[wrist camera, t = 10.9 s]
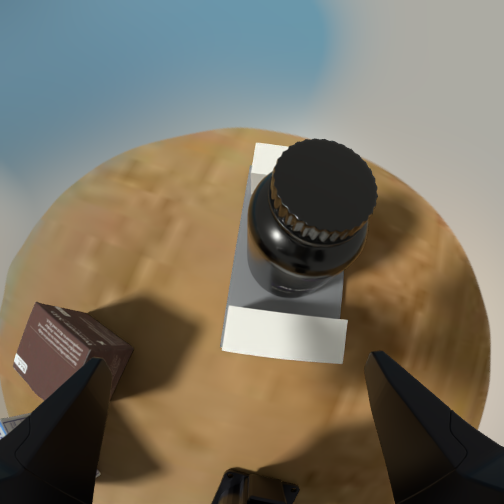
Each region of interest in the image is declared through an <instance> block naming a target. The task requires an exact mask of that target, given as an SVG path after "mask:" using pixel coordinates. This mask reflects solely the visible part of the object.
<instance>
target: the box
mask: <svg viewBox="0 0 504 504" xmlns="http://www.w3.org/2000/svg"><path fill="white" fill-rule="evenodd" d="M133 350H134V349H133V347H132V346H131V345H129V344H128V343H126V342H125V341H124V340H122V339H121V338H119V337H118V336H117V335H115V334H114V333H113V332H112V331H110V330H109V329H107V328H106V327H105V326H103V325H102V324H100V323H99V322H98V321H97V320H95V319H93V318H92V317H91V316H90V315H88V314H87V313H84V312H79V311H74V310H70V309H65V308H60V307H56V306H51V305H45V304H42V303H39V302H35V305H34V307H33V309H32V312H31V314H30V317H29V319H28V322H27V325H26V328H25V330H24V333H23V336H22V339H21V342H20V344H19V347H18V350H17V353H16V356H15V360H14V364H13V367H14V369H15V370H16V371H17V372H18V373H19V374H20V376H21V377H22V378H23V379H24V380H25V381H26V382H27V383H28V384H29V386H30V387H31V389H32V390H33V391H34V392H35V393H36V394H37V395H38V396H39V397H40V398H42V399H43V400H44V401H45V400H46V399H47V398H48V397H49V396H50V395H51V394H52V393H53V392H54V391H55V390H57V389H58V388H59V387H60V386H61V385H62V384H63V383H64V382H65V381H66V380H68V379H69V378H70V377H71V376H72V375H73V374H74V373H75V372H76V371H77V370H79V369H80V368H81V367H82V366H83V365H84V364H85V363H86V362H88V361H89V360H90V359H91V358H92V357H100V358H103V359H104V360H105V361H106V363H107V365H108V367H109V369H110V370H111V372H112V384H111V392H110V399H111V397H112V395H113V392H114V390H115V388H116V386H117V383H118V381H119V379H120V377H121V375H122V373H123V371H124V368H125V366H126V364H127V362H128V360H129V358H130V356H131V354H132V352H133ZM109 401H110V400H109Z"/></svg>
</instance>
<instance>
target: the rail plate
mask: <svg viewBox="0 0 504 504" xmlns="http://www.w3.org/2000/svg"><path fill="white" fill-rule="evenodd" d="M287 149H288V147H285V146H278V145H271V144H263V143H256V147H255V153H254V158H253V164H252V166H251V165H250V170H249V175H248V181H247V187H246V192H245V198H244V204H243V209H242V215H241V221H240V227H239V233H238V238H237V244H236V250H235V256H234V262H233V268H232V274H231V281H230V287H229V293H228V299H227V305H226V312H225V318H224V325H223V331H222V337H221V344H220V347H222V351H228V352H234V353H241V354H248V355H255V356H263V357H271V358H279V359H288V360H298V361H309V362H321V363H336V364H343V356H344V348H345V340H346V331H347V322H348V320H342V319H340V313H341V302H342V290H343V276H344V271H342V272H341V273H340V274H338V275H337V276H335V277H334V278H333V279H331V280H330V281H329V282H327V283H326V284H324V285H323V286H322V287H320V288H319V289H317V290H316V291H314V292H313V293H311V294H309V295H306V296H303V297H299V298H283V297H278V296H275V295H273V294H271V293H269V292H267V291H266V290H265V289H263V288H262V287H261V286H260V285H259V284H258V283H257V282H256V280H255V279H254V277H253V276H252V274H251V271H250V269H249V265H248V261H247V214H248V207H249V202H250V199H251V196H252V194H253V192H254V190H255V188H256V187H257V185H258V184H259V182H260V181H261V180H262V179H263V178H264V177H265V176H266V175H268V174H269V173H270V172H272V171H273V168H274V167H275V165H276V162H277V159H278V158H279V157H281V155H282V152H283V151H285V150H287Z"/></svg>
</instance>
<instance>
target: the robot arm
mask: <svg viewBox="0 0 504 504" xmlns="http://www.w3.org/2000/svg"><path fill="white" fill-rule="evenodd" d="M364 374H365V379H366V384H367V390H368V395H369V401H370V407H371V411H372V415H373V419H374V422H375V426H376V429H377V433H378V436H379V440H380V444H381V447H382V451H383V455H384V459H385V463H386V467H387V471H388V475H389V479H390V483H391V487H392V492H393V496H394V501H395V504H504V447H503V446H500V445H499V444H497V443H496V442H494V441H493V440H491V439H490V438H488V437H487V436H485V435H484V434H482V433H481V432H480V431H478V430H477V429H475V428H474V427H472V426H471V425H470V424H468V423H467V422H466V421H465V420H463V419H462V418H461V417H460V416H459V415H457V414H456V413H455V412H454V411H453V410H451V409H450V408H449V407H448V406H447V405H446V404H444V403H443V402H442V401H441V400H440V399H439V398H438V397H436V396H435V395H434V394H433V393H432V392H431V391H429V390H428V389H427V388H426V387H425V386H424V385H422V384H421V383H420V382H419V381H418V380H417V379H415V378H414V377H413V376H412V375H411V374H410V373H408V372H407V371H406V370H405V369H404V368H402V367H401V366H400V365H399V364H398V363H397V362H395V361H394V360H393V359H392V358H391V357H390V356H388V355H387V354H386V353H385V352H384V351H381V350H379V351H373V352H371V353H370V354H369V357H368V359H367V362H366V365H365V368H364ZM111 384H112V372H111V370H110V369H109V367H108V365H107V363H106V361H105V360H104V359H103V358H100V357H92V358H91V359H90V360H89V361H88V362H86V363H85V364H84V365H83V366H82V367H81V368H80V369H79V370H77V371H76V372H75V373H74V374H73V375H72V376H71V377H70V378H69V379H68V380H66V381H65V382H64V383H63V384H62V385H61V386H60V387H59V388H58V389H57V390H55V391H54V392H53V393H52V394H51V395H50V396H49V397H48V398H47V399H46V400H45V401H44V402H42V403H41V404H40V405H39V406H38V407H37V408H36V409H35V410H34V411H33V412H32V413H31V414H30V415H28V416H27V417H26V418H25V419H24V420H23V421H22V422H21V423H20V424H19V425H18V426H16V427H15V428H14V429H13V430H12V431H10V432H9V433H8V434H7V435H5V436H4V437H3V438H2V439H0V504H92V502H93V494H94V486H95V479H96V473H97V467H98V461H99V455H100V450H101V444H102V439H103V434H104V429H105V425H106V420H107V415H108V408H109V400H110V392H111ZM228 474H232V475H233V476H228ZM292 488H296V489H295V490H291V489H292ZM299 490H300V489H299V486H298V485H296V484H292V483H286V482H281V480H279V479H274V478H269V477H265V476H260V475H256V474H246V473H242V472H238V471H235V470H227V471H226V472H225V473H224V476H223V478H222V480H221V483H220V485H219V487H218V490H217V492H216V494H215V497H214V499H213V501H212V504H293V502H294V500H295V498H296V496H297V494H298V492H299Z"/></svg>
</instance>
